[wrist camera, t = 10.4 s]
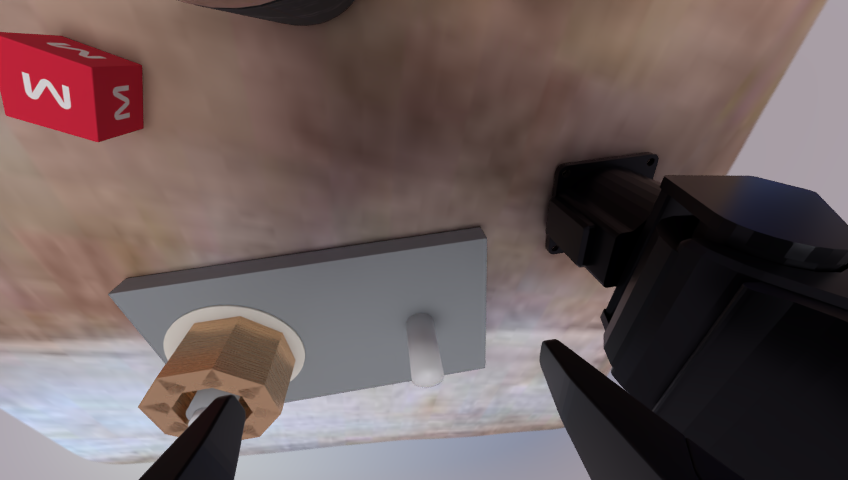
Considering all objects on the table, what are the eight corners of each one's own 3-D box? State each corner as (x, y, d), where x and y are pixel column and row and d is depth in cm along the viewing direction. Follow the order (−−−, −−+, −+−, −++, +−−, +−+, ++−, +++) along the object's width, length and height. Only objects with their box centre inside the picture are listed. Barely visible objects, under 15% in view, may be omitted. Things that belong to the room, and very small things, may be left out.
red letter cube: (69, 105, 15) (5, 115, 12) (61, 35, 13) (-14, 30, 11) (144, 128, 16) (98, 142, 13) (143, 65, 14) (91, 67, 12)
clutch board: (480, 227, 21) (517, 289, 15) (480, 353, 28) (506, 429, 22) (125, 278, 20) (23, 368, 14) (216, 398, 26) (172, 491, 21)
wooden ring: (207, 302, 19) (170, 355, 16) (310, 343, 22) (297, 395, 19) (166, 366, 22) (126, 425, 18) (264, 396, 24) (245, 451, 21)
